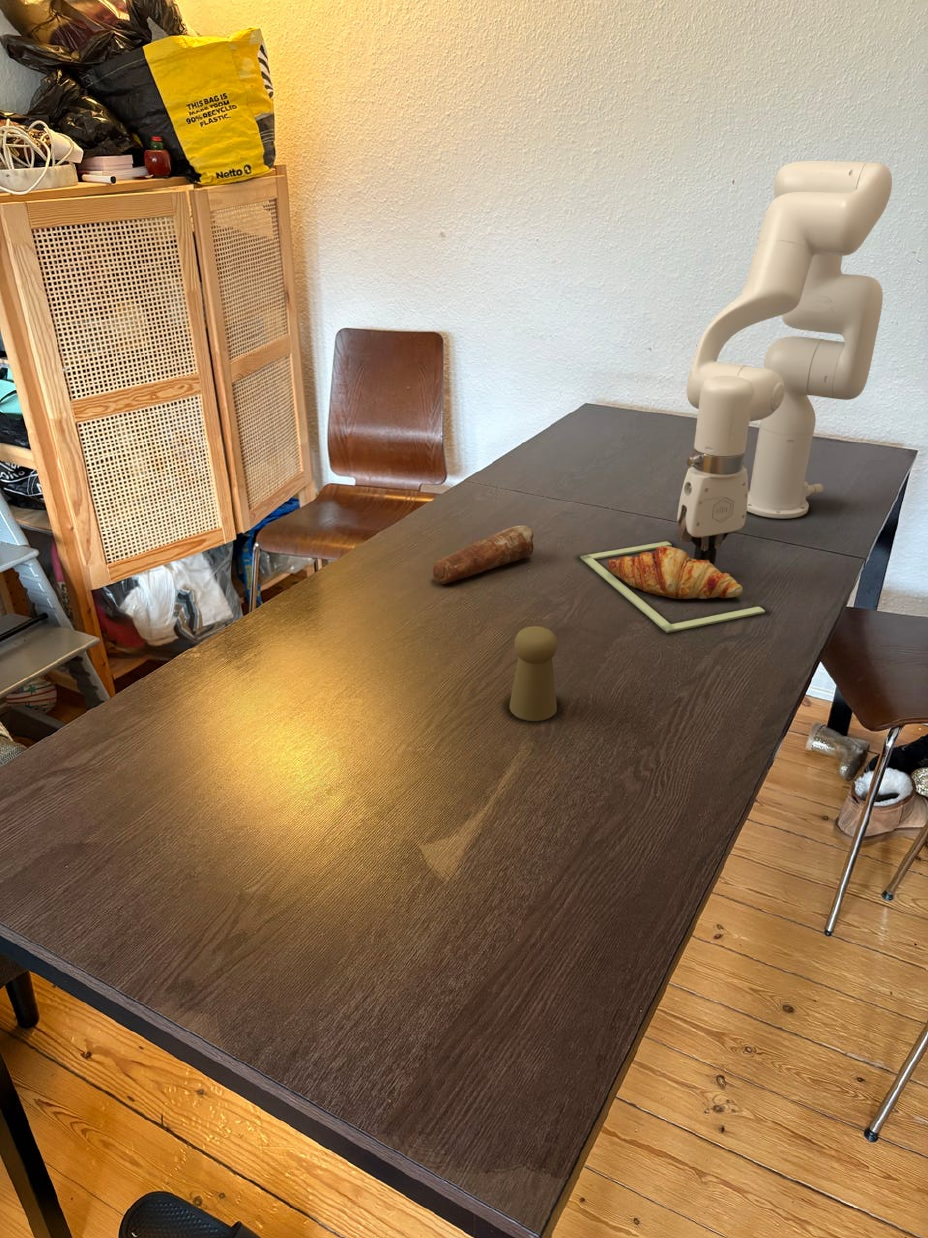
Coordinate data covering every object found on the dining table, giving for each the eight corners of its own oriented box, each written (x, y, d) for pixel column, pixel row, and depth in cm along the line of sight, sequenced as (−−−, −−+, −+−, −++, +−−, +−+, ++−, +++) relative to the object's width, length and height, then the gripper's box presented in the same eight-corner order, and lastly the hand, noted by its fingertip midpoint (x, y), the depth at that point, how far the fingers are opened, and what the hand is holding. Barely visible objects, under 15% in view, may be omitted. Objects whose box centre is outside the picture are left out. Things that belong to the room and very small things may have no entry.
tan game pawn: (506, 695, 117) (508, 621, 112) (552, 692, 118) (556, 618, 113) (512, 722, 112) (514, 645, 107) (560, 719, 113) (565, 643, 107)
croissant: (739, 611, 144) (749, 561, 144) (737, 610, 135) (748, 557, 134) (608, 587, 151) (618, 539, 150) (597, 584, 141) (608, 533, 141)
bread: (537, 560, 153) (538, 530, 150) (445, 591, 143) (444, 559, 141) (513, 548, 158) (514, 518, 155) (422, 577, 148) (421, 546, 145)
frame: (666, 543, 159) (667, 541, 159) (764, 612, 137) (765, 610, 137) (580, 558, 154) (580, 555, 154) (667, 633, 131) (667, 630, 131)
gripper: (689, 474, 132) (676, 586, 141) (774, 461, 137) (756, 571, 146) (661, 458, 139) (650, 567, 147) (743, 447, 143) (728, 552, 152)
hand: (703, 568), depth 147 cm, fingers closed
